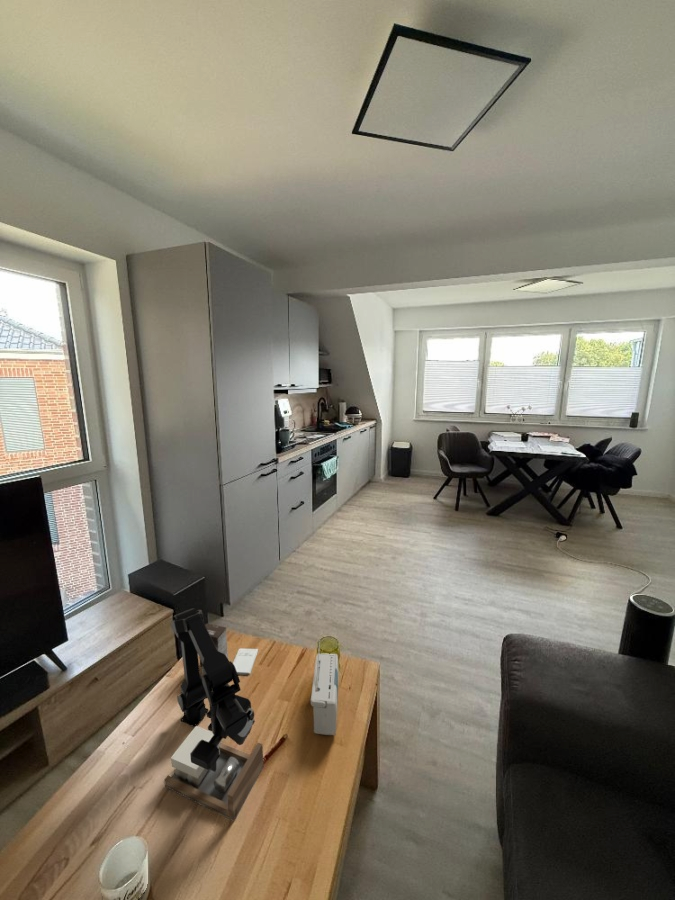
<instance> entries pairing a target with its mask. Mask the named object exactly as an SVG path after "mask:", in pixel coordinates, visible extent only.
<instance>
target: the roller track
mask: <svg viewBox="0 0 675 900" xmlns="http://www.w3.org/2000/svg"><path fill="white" fill-rule="evenodd" d="M218 749H219V755H220V757H219V758H218V760H217V761H216V771H215V772H214V771H212V770H211V769H208V770H207V769H204V770H203V771H202V773H201V774H200V776H199V777H198V779H197V778H195V777H193V776H191V775H189V774H187V773H185V772H182V771H180V770H178V769H176V768H174V773H173V774H172V775H171V776H170V775H167V776H166V777H165V778H164V784H165V785H164V787H165V788H167V789H168V790H170V791H173V792H175V793H177V794H179V795H181V796H183V797H184V798H187V799H189V800H191V801H193V802H195V803H197V804H199V805H201V806H203V807H205V808H207V809H210V810H211V811H212V812H213V811H214V812H215V813H217V814H219V815H221V816H223V817H225V818H227V819H229V820H232V821H233V822H235V821H236V819H237V817H238V815H239V813H240V812H241V810H242V808H243V806H244V804H245V802H246V800H247V799H248V797H249V795H250V793H251V791H252V790H253V787H254V785H255V784H256V782H257V780H258V778H259V775H261V772H262V770H263V768H264V752H263V751H264V749H263V744H262V743H261V742H258V741H257V742H256V744H255V746H254V748H253V749H252V751H251V753H249V754H248V753H246V752H245V751H242V750H239V749H237V748H235V747H232V746H229V745H227V744H224V743H222V742H221V745H220V747H219V748H218ZM229 757H234V758H236V759H237V760H238V762H239V764H240V768H239V769H238V771H237V773H236V775H235V776H234V778H233V780H232V781H231V783H230V785H229V786H228V788H227V790H226V791H225V793H220V792H218V791H217V790H216V789H215V787H214V784H213V783H214V781H215V779H216V778H217V776H218V774H219V773H220V771H221V770H222V768H223V767H224V765H225V763H226V762H227V760H228V759H229Z"/></svg>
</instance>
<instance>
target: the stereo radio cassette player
mask: <svg viewBox="0 0 675 900" xmlns="http://www.w3.org/2000/svg"><path fill="white" fill-rule="evenodd" d="M320 643H321V639H318V653H317V654H316V655H315V656H316V657H315V663H314V672H313V679H312V688H311V696H310V705H311V706H312V709H313V712H312V713H313V733H314V734H317V735H325V736H335V735H336V733H337V724H338V723H337V722H338V721H337V720H338V702H339V701H338V698H339V676H340V675H339V669H340V667H339V656H338V654H337V653H330V654H329V653H328V652H327V653H326V652H325V653H320V650H321V649H320V647H321V644H320Z"/></svg>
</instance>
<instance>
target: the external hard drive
mask: <svg viewBox="0 0 675 900" xmlns="http://www.w3.org/2000/svg"><path fill="white" fill-rule="evenodd" d="M258 652H259V648H238V651H237V652H236V655H235V657H234V659H233V662H232V663H233V664H234V666H235V668H236V671H237V674H238V676H239V675H241V676H243V675H247V676H250V675H251V672H252V670H253V667H254V665H255V661H256V658H257V655H258Z"/></svg>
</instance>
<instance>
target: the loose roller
mask: <svg viewBox="0 0 675 900" xmlns="http://www.w3.org/2000/svg"><path fill="white" fill-rule="evenodd" d="M239 768H240V764H239V762H238V760H237V759H236V758H234V757H229V759H228V760H227V762H226V763H225V765H224V767H223V768H222V770H221V771H220V773H219V774H218V776H217V778H216V779H215V781H214V783H213V784H214V787H215V789H216V790H217V791H218V792H220V793H225V791H226V790H227V788H228V786H229V785H230V783H231V781H232V780H233V778H234V776H235V775H236V773H237V771H238V769H239Z"/></svg>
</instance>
